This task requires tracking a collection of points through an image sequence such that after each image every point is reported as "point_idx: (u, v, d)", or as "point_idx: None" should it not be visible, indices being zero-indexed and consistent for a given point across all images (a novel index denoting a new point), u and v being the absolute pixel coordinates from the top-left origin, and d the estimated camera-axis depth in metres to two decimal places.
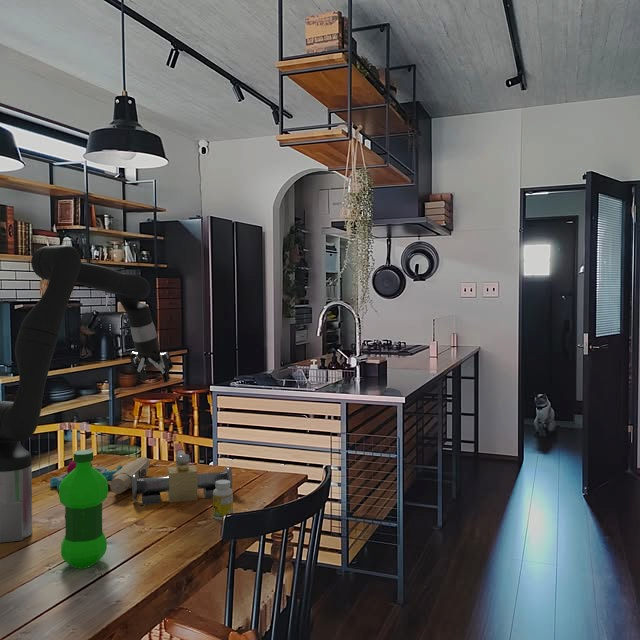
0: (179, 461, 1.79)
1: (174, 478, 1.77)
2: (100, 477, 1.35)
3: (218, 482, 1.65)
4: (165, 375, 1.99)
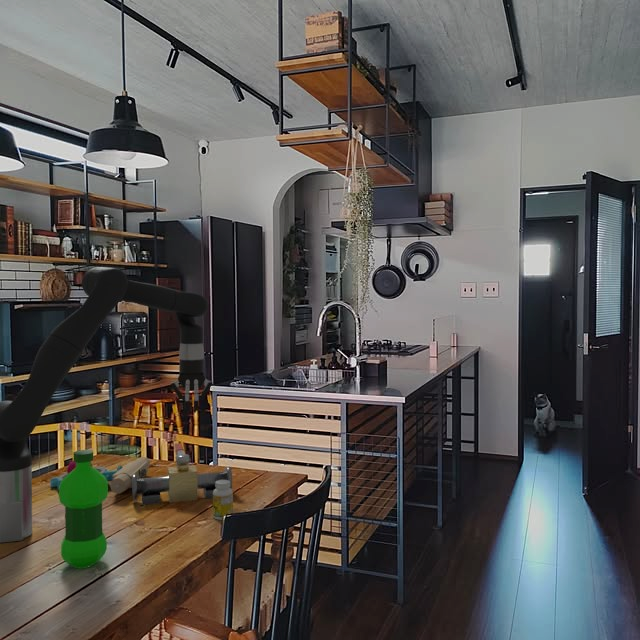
0: (179, 461, 1.79)
1: (174, 478, 1.77)
2: (100, 477, 1.35)
3: (218, 482, 1.65)
4: (197, 404, 1.93)
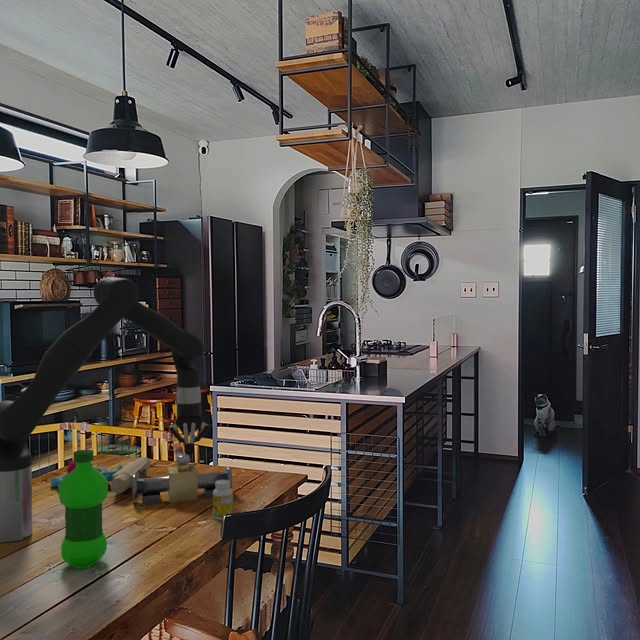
0: (179, 461, 1.79)
1: (174, 478, 1.77)
2: (100, 477, 1.35)
3: (218, 482, 1.65)
4: (192, 446, 1.93)
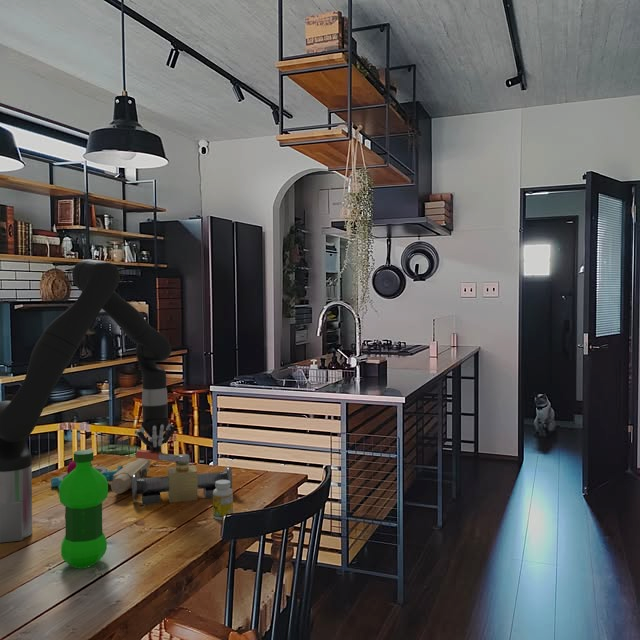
0: (185, 461, 1.79)
1: (174, 478, 1.77)
2: (100, 477, 1.35)
3: (218, 482, 1.65)
4: (160, 449, 1.88)
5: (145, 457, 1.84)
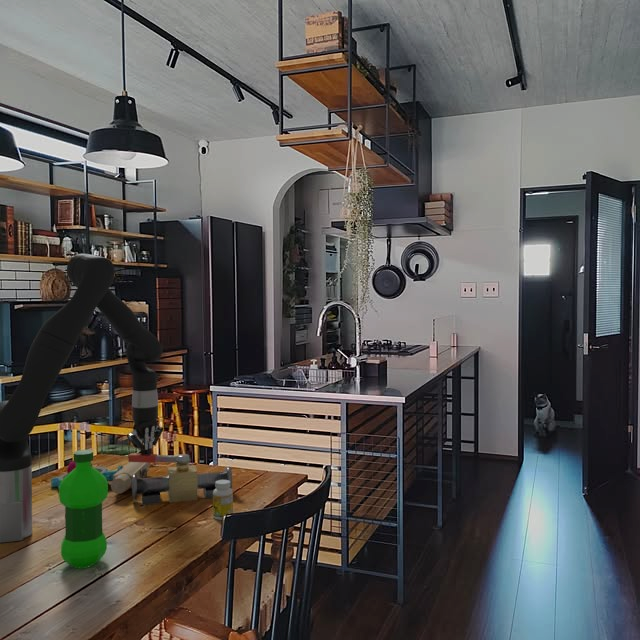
0: (186, 460, 1.79)
1: (174, 478, 1.77)
2: (100, 477, 1.35)
3: (218, 482, 1.65)
4: (150, 451, 1.85)
5: (139, 460, 1.80)
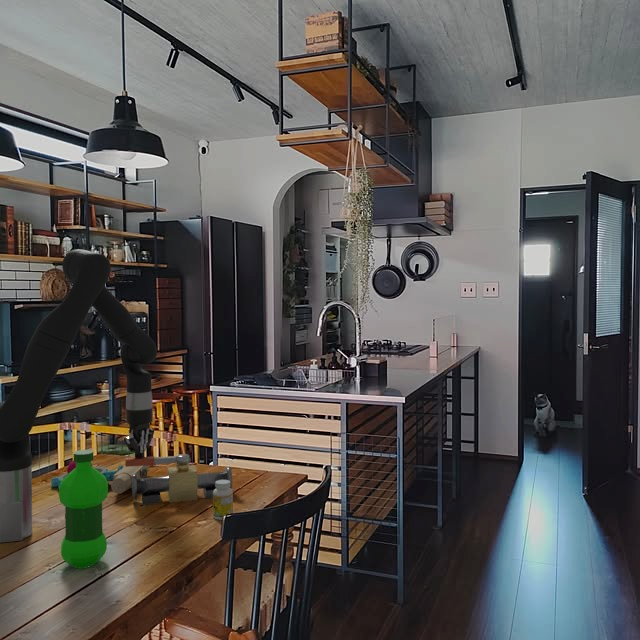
0: (188, 460, 1.80)
1: (174, 478, 1.77)
2: (100, 477, 1.35)
3: (218, 482, 1.65)
4: (143, 454, 1.82)
5: (138, 464, 1.76)
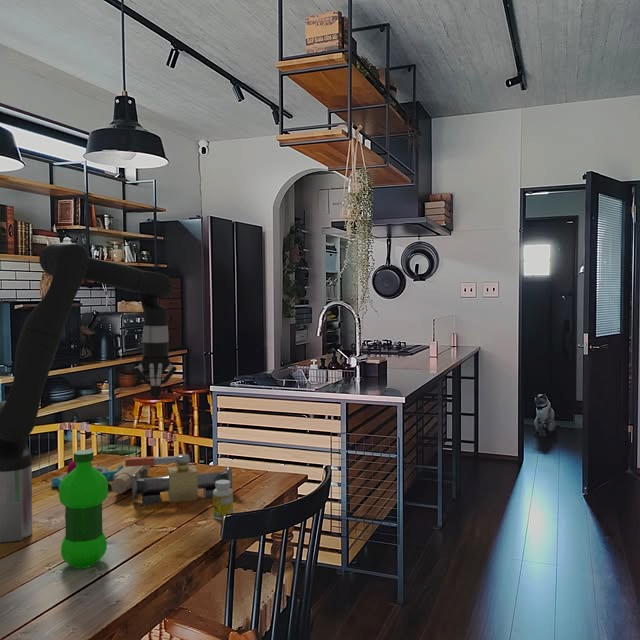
0: (188, 460, 1.80)
1: (174, 478, 1.77)
2: (100, 477, 1.35)
3: (218, 482, 1.65)
4: (159, 389, 1.85)
5: (138, 464, 1.76)
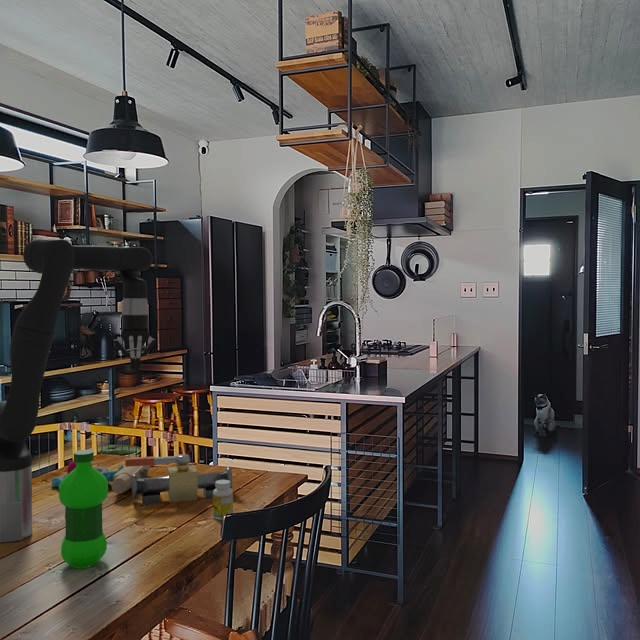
0: (188, 460, 1.80)
1: (174, 478, 1.77)
2: (100, 477, 1.35)
3: (218, 482, 1.65)
4: (138, 361, 1.85)
5: (138, 464, 1.76)
